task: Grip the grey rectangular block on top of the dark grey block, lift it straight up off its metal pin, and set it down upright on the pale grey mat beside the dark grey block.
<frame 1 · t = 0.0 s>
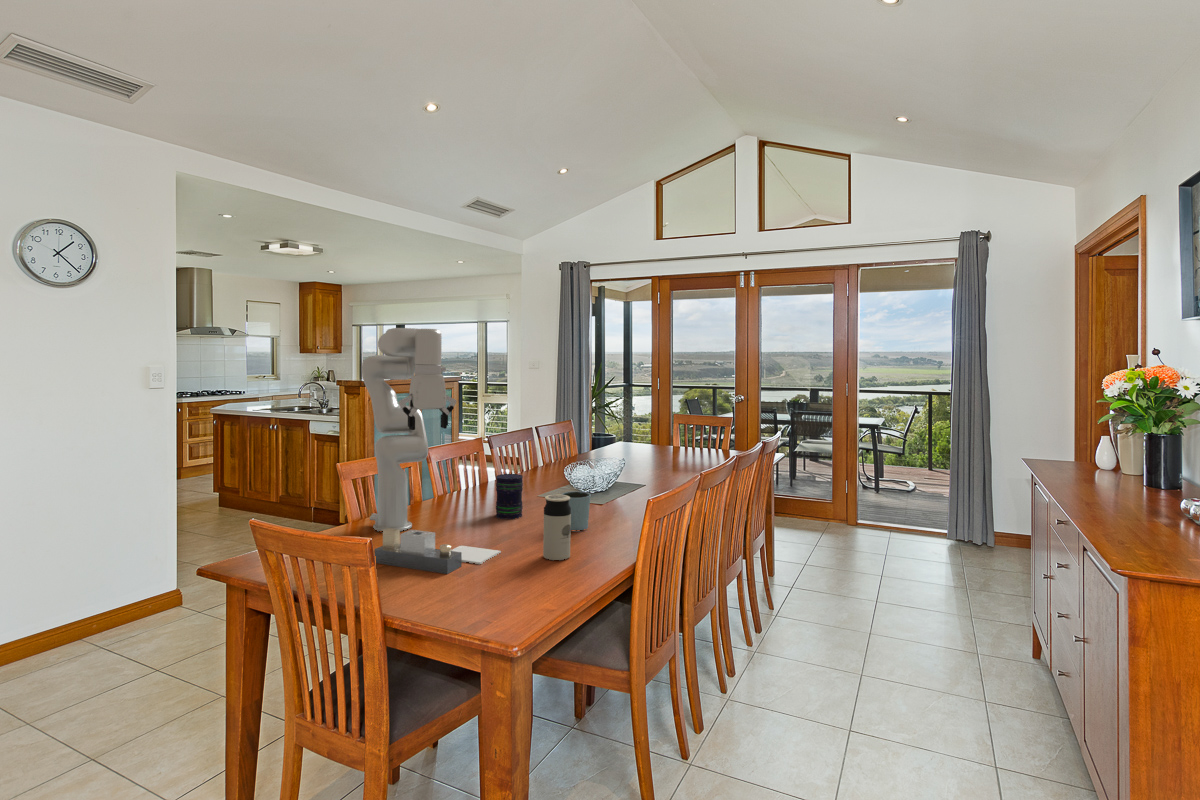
hand: (428, 428, 190), 37 cm above the table, tool pointing down, fingers open, 9 cm apart
travel mug: (556, 557, 190), on the table
blue grey cup: (575, 528, 223), on the table
mat: (470, 555, 190), on the table
storage jar: (509, 516, 238), on the table
grey rectangular block: (417, 550, 181), point 4 cm above the table, touching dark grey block
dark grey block: (417, 564, 181), on the table
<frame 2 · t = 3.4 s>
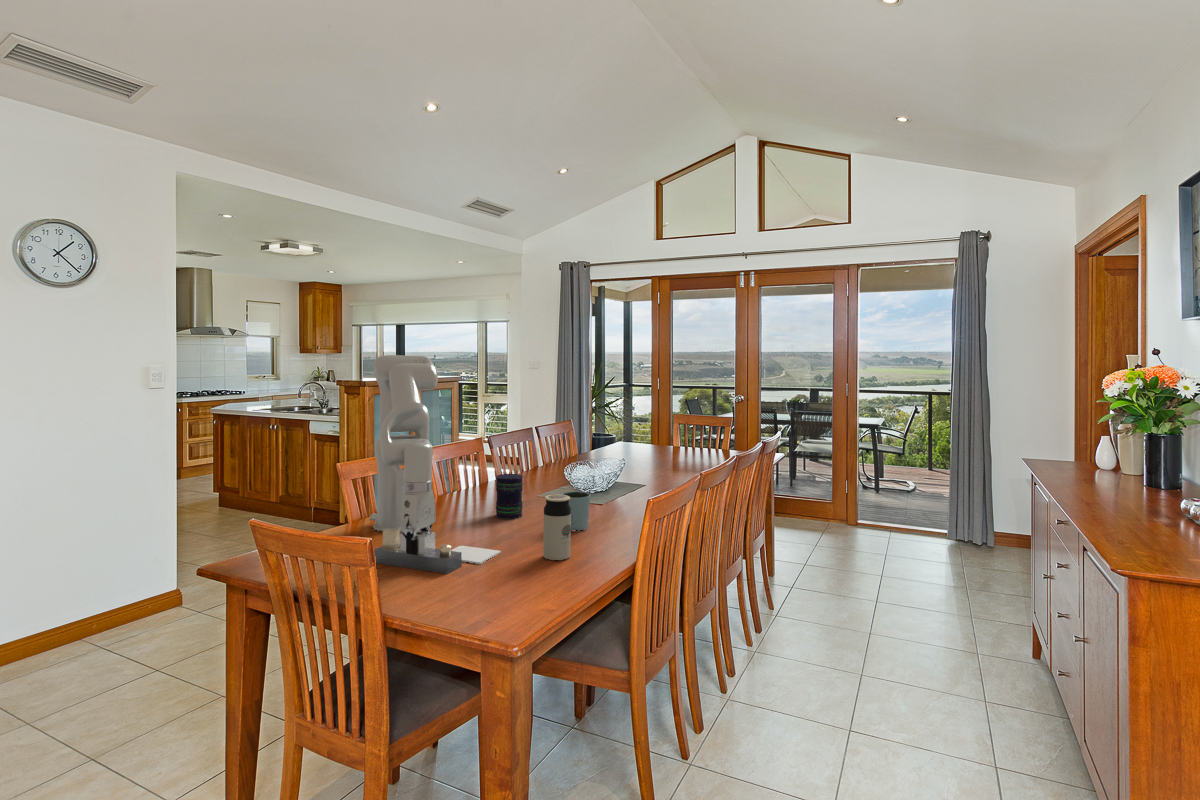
hand: (417, 549, 181), 4 cm above the table, tool pointing down, fingers closed on grey rectangular block, 5 cm apart
grey rectangular block: (417, 550, 181), point 4 cm above the table, touching gripper, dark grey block
everything else where it was.
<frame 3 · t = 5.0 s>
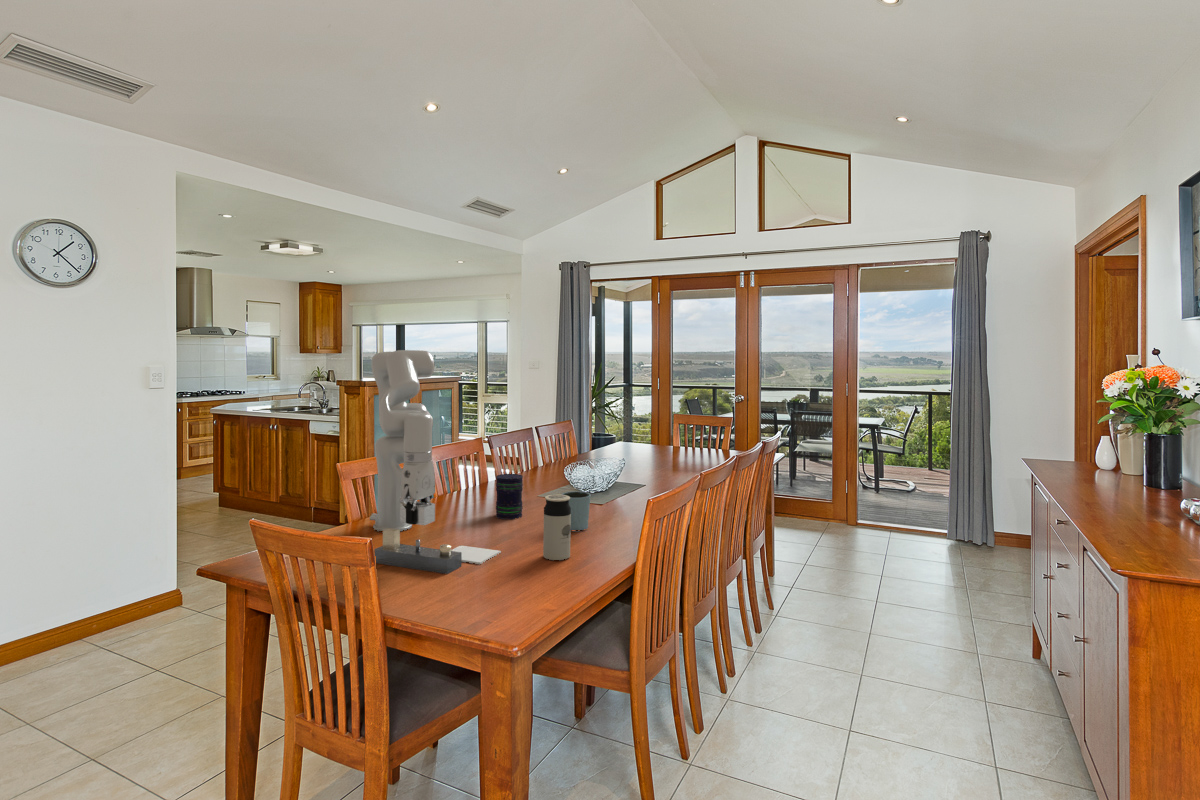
hand: (417, 520, 181), 13 cm above the table, tool pointing down, fingers closed on grey rectangular block, 5 cm apart
grey rectangular block: (417, 521, 181), point 12 cm above the table, touching gripper
everything else where it was.
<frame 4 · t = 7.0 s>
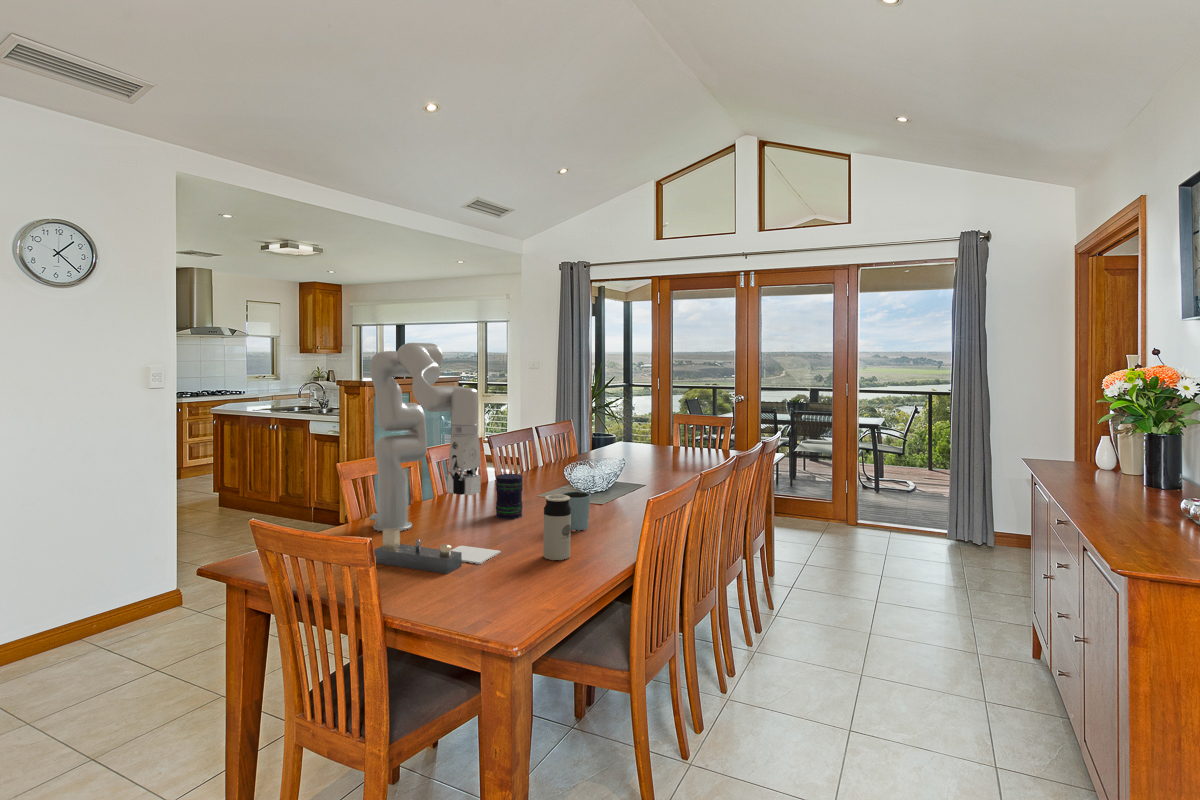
hand: (464, 491, 188), 19 cm above the table, tool pointing down, fingers closed on grey rectangular block, 5 cm apart
grey rectangular block: (464, 492, 188), point 19 cm above the table, touching gripper
everything else where it was.
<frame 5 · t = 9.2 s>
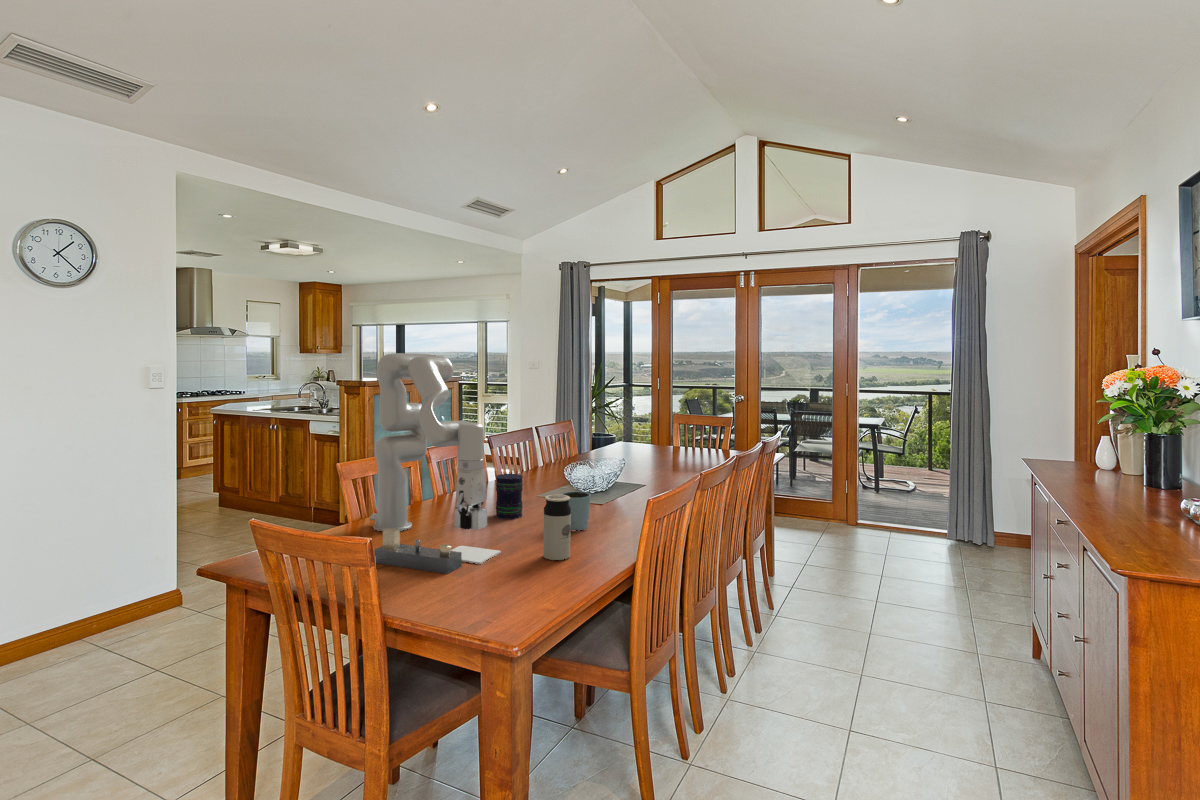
hand: (470, 525, 189), 9 cm above the table, tool pointing down, fingers closed on grey rectangular block, 5 cm apart
grey rectangular block: (470, 526, 189), point 9 cm above the table, touching gripper
everything else where it was.
when the fingers open (2 cm above the table, at t = 10.9 s): grey rectangular block drops 1 cm, resting on mat.
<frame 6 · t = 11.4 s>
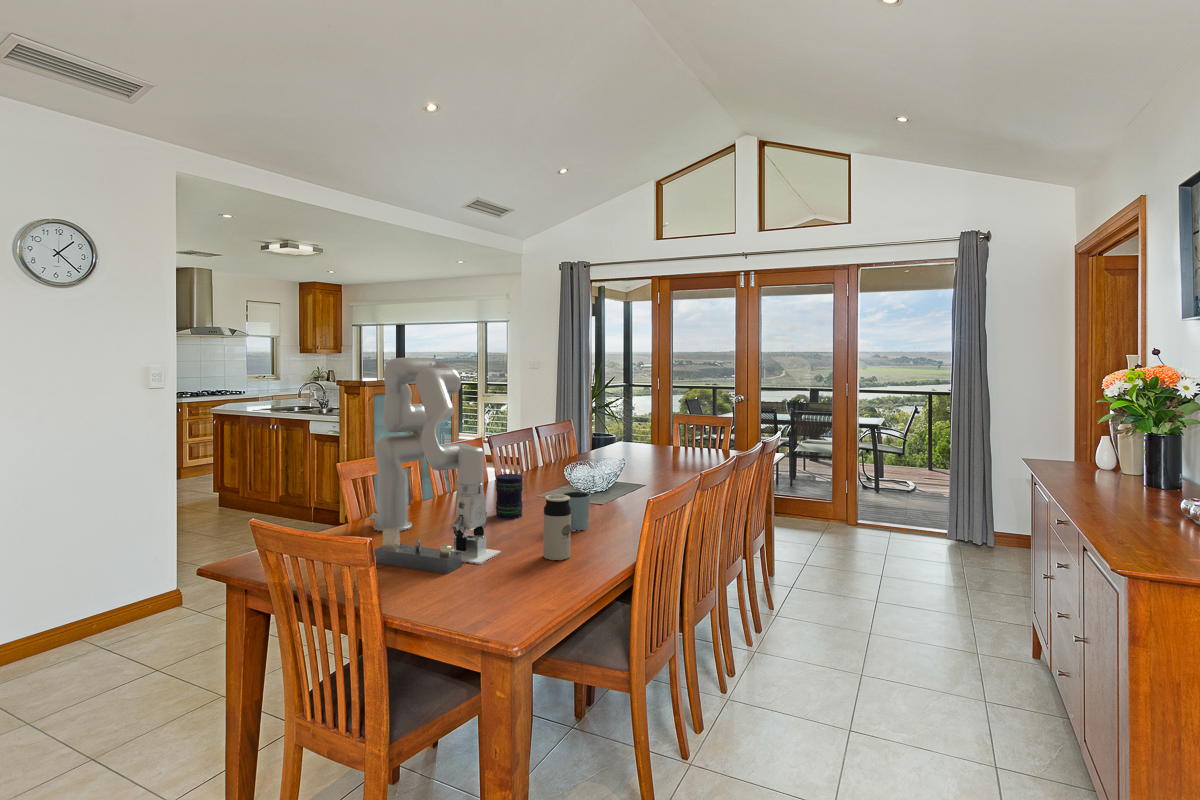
hand: (470, 546, 190), 3 cm above the table, tool pointing down, fingers open, 9 cm apart
grey rectangular block: (470, 553, 190), point 1 cm above the table, touching mat
everything else where it was.
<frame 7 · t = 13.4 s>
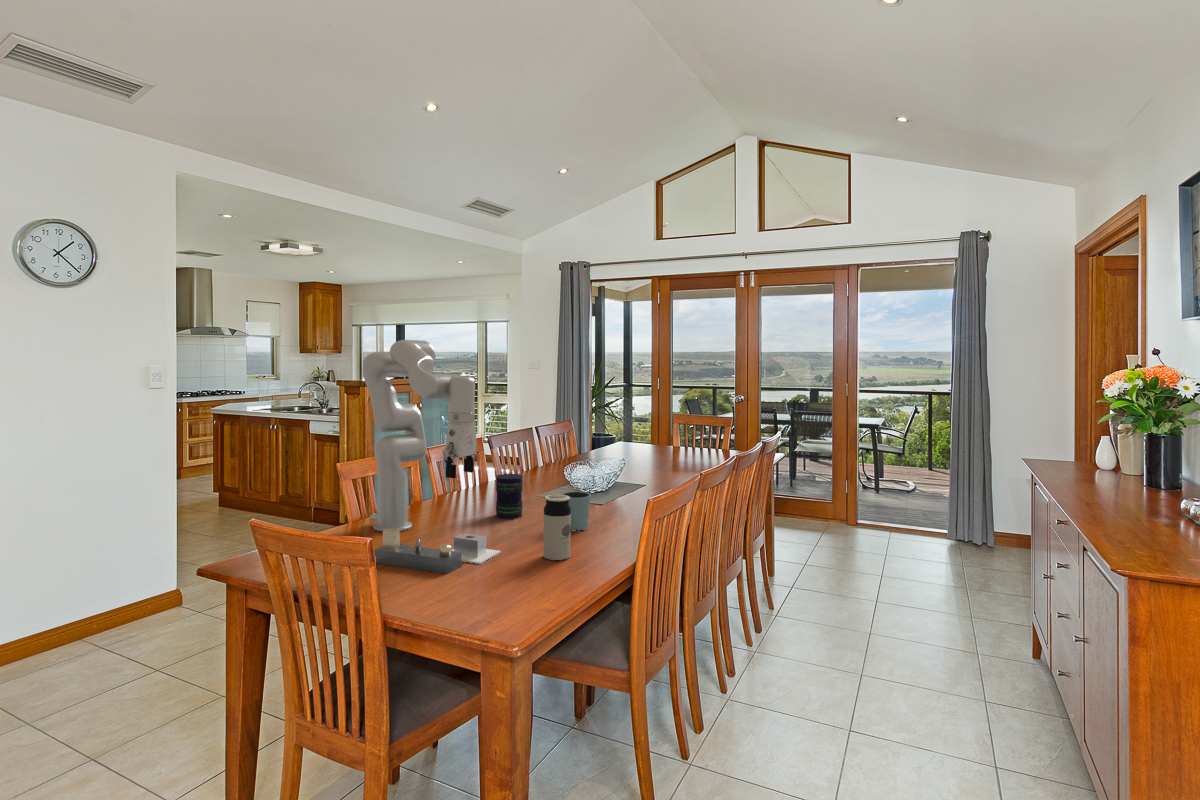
hand: (459, 474, 192), 23 cm above the table, tool pointing down, fingers open, 9 cm apart
nothing on the table moved.
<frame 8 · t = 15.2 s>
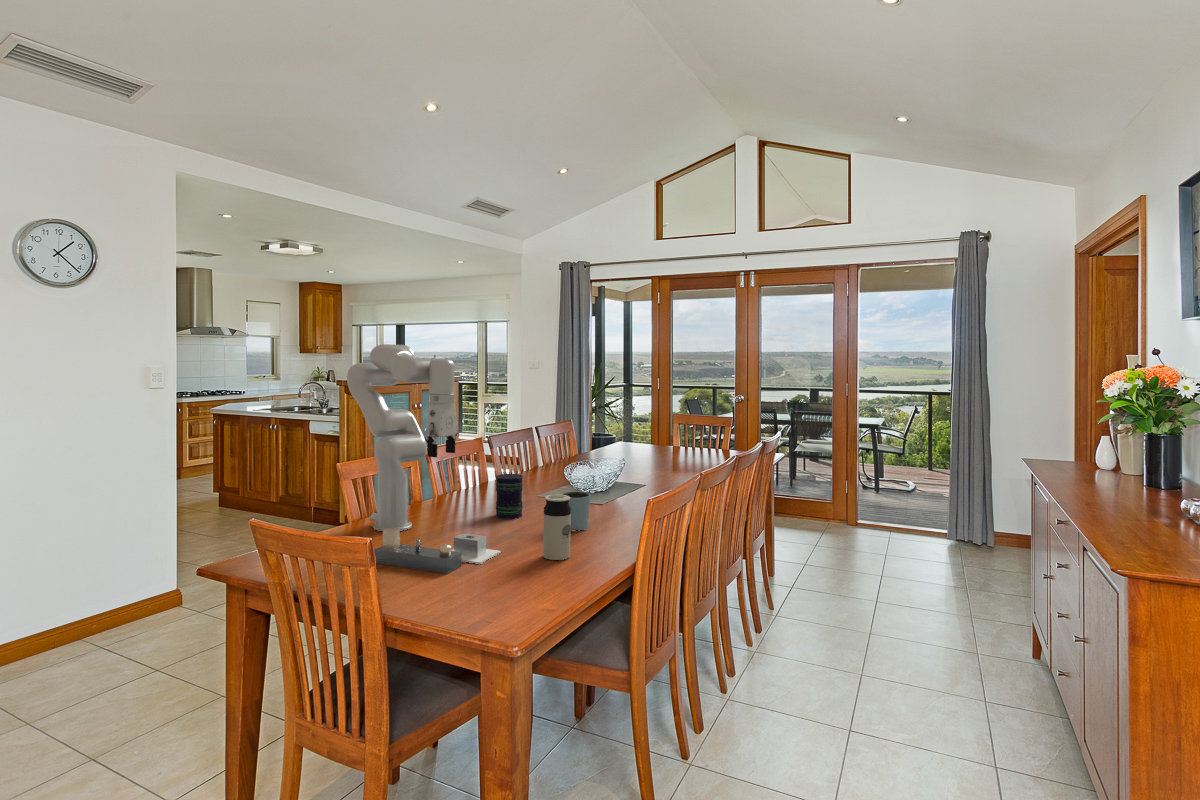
hand: (441, 454, 199), 28 cm above the table, tool pointing down, fingers open, 9 cm apart
nothing on the table moved.
at the end: grey rectangular block inside the target area on the mat (0.0 cm from its centre), point 0.6 cm above the mat's base; grey rectangular block tilted 0°; the gripper is holding nothing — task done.
